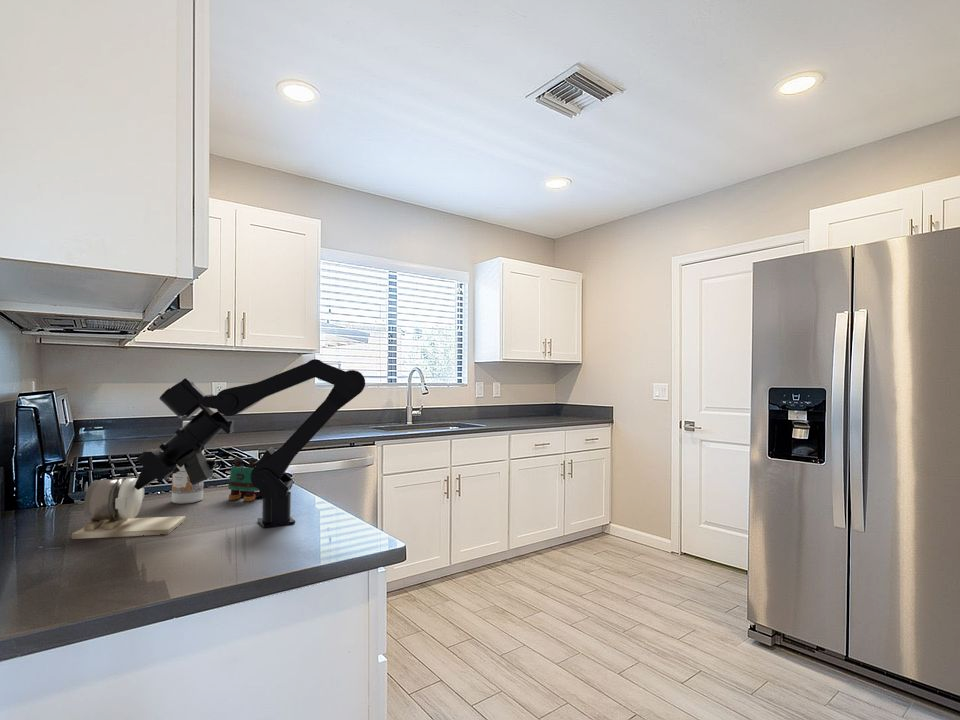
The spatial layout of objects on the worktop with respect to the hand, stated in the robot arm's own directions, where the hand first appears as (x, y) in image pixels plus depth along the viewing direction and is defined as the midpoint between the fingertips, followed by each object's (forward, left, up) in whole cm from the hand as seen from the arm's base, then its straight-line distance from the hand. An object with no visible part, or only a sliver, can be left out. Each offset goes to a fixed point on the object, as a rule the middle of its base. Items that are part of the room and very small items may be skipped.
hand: (136, 488), depth 110 cm
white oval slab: (0, +1, -6) cm, 6 cm away
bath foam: (+22, -11, -9) cm, 26 cm away
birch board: (0, +1, -8) cm, 8 cm away
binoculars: (+18, -25, -9) cm, 32 cm away
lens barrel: (+2, +5, -6) cm, 8 cm away
